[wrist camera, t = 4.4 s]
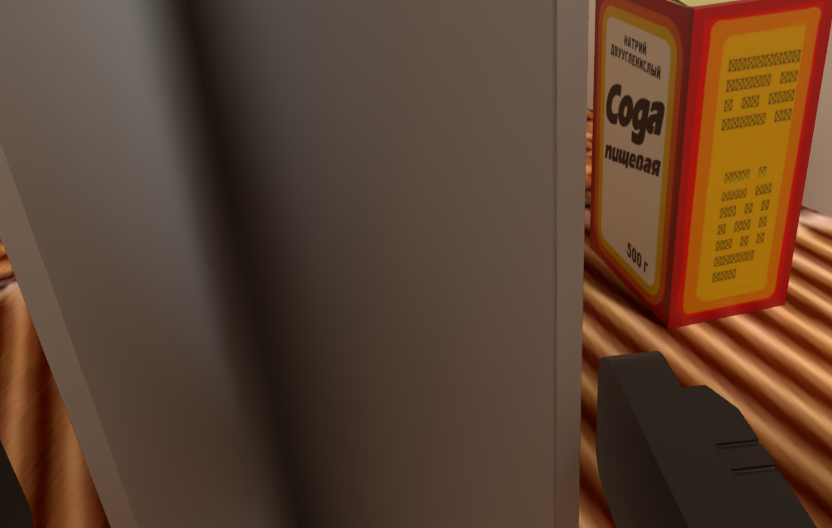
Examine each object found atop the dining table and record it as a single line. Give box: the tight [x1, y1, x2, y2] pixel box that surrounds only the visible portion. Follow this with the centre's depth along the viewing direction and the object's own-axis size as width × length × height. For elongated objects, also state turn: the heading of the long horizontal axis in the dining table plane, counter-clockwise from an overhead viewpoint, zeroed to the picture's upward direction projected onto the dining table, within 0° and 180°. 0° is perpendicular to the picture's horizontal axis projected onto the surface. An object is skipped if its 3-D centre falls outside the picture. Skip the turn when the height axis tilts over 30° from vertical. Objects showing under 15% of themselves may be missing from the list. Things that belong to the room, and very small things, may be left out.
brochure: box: [0, 0, 589, 528], centre depth 16 cm, size 14×6×30 cm, turn 9°
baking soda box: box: [590, 0, 832, 329], centre depth 41 cm, size 10×6×16 cm
